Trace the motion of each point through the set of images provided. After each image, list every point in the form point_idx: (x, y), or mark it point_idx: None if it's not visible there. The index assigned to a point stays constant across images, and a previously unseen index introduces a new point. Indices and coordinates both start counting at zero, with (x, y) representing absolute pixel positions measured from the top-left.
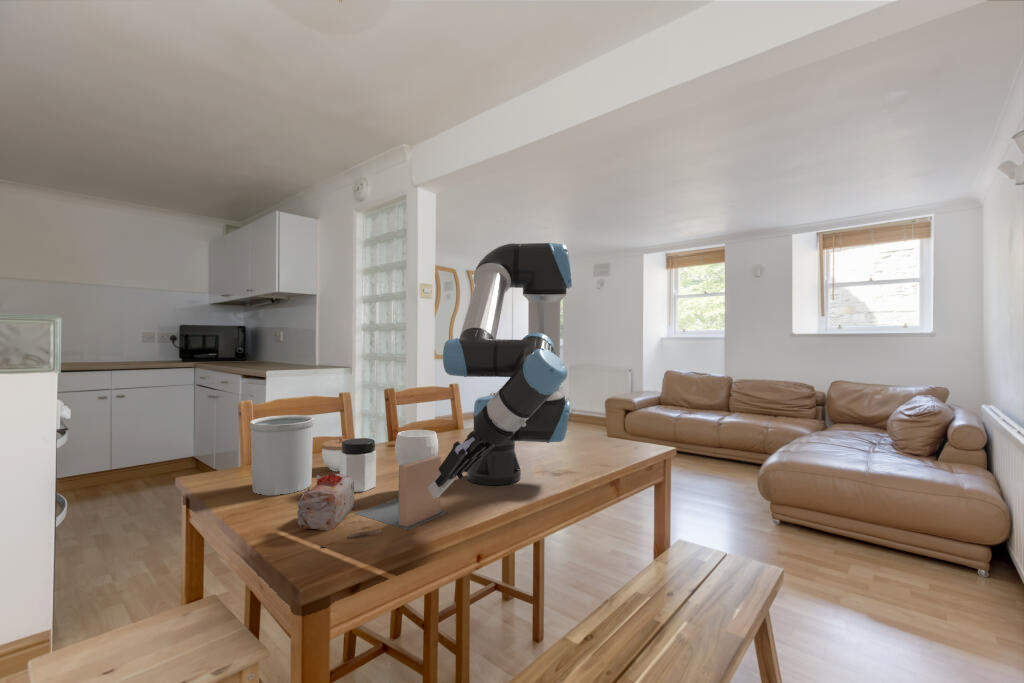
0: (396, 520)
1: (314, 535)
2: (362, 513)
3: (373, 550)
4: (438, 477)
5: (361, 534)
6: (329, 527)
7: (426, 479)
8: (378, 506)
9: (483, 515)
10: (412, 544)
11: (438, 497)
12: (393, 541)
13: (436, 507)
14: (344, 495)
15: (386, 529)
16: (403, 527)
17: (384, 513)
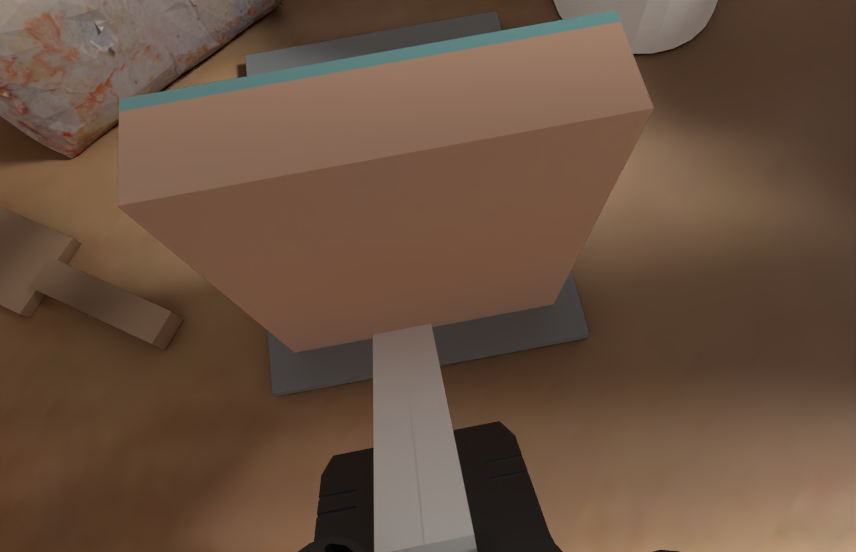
0: None
1: (18, 141)
2: None
3: (40, 455)
4: (319, 520)
5: (76, 302)
6: (49, 144)
7: (427, 238)
8: (369, 48)
9: (758, 495)
10: (196, 539)
11: (551, 276)
12: (165, 433)
13: (526, 298)
14: (91, 12)
15: None
16: (278, 349)
17: None
